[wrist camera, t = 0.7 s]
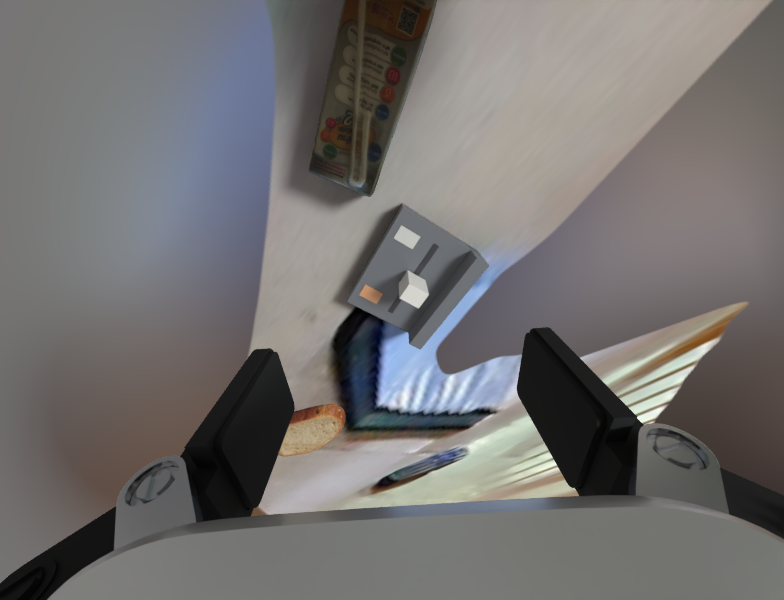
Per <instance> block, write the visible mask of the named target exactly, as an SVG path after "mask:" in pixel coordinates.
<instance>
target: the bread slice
mask: <svg viewBox="0 0 784 600" xmlns="http://www.w3.org/2000/svg"><path fill="white" fill-rule="evenodd" d="M344 423H345V413H344V410H343V409H342V408H341V407H340V406H338V405H335V404H328V405H321V406H315V407H311V408H307V409H304V410H300V411H297V412H294V413H293V416H292V419H291V421H290V424H289V427H288V429H287V432H286V435H285V437H284V440H283V443H282V445H281V448H280V451H279V453H278V455H281V456H292V455H299V454H305V453H308V452H311V451H313V450H317V449H319V448H321V447H323V446H324V445H325V443H327V442H328V441H330V440H332V439H334V438H335V437H336V436H337V435H338V434H339V432H340V431H341V429H342V428H343V426H344Z"/></svg>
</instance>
